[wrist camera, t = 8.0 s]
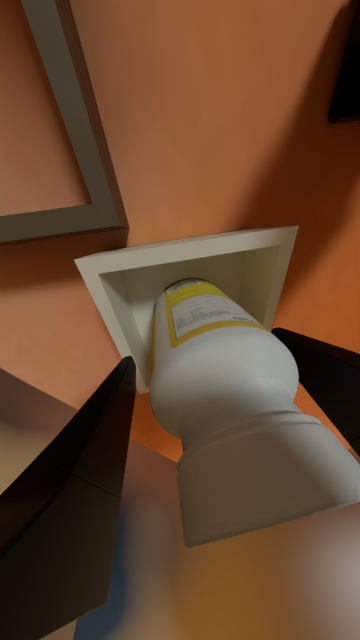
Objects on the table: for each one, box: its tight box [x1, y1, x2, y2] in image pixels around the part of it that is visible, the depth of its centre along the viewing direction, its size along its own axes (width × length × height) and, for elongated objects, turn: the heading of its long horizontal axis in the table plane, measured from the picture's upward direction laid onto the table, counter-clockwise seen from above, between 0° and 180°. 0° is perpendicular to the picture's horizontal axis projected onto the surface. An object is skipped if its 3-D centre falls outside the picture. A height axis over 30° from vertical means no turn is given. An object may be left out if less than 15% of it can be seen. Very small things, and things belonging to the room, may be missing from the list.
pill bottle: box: [149, 277, 360, 547], centre depth 8 cm, size 6×6×12 cm
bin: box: [74, 226, 299, 394], centre depth 12 cm, size 12×12×4 cm
